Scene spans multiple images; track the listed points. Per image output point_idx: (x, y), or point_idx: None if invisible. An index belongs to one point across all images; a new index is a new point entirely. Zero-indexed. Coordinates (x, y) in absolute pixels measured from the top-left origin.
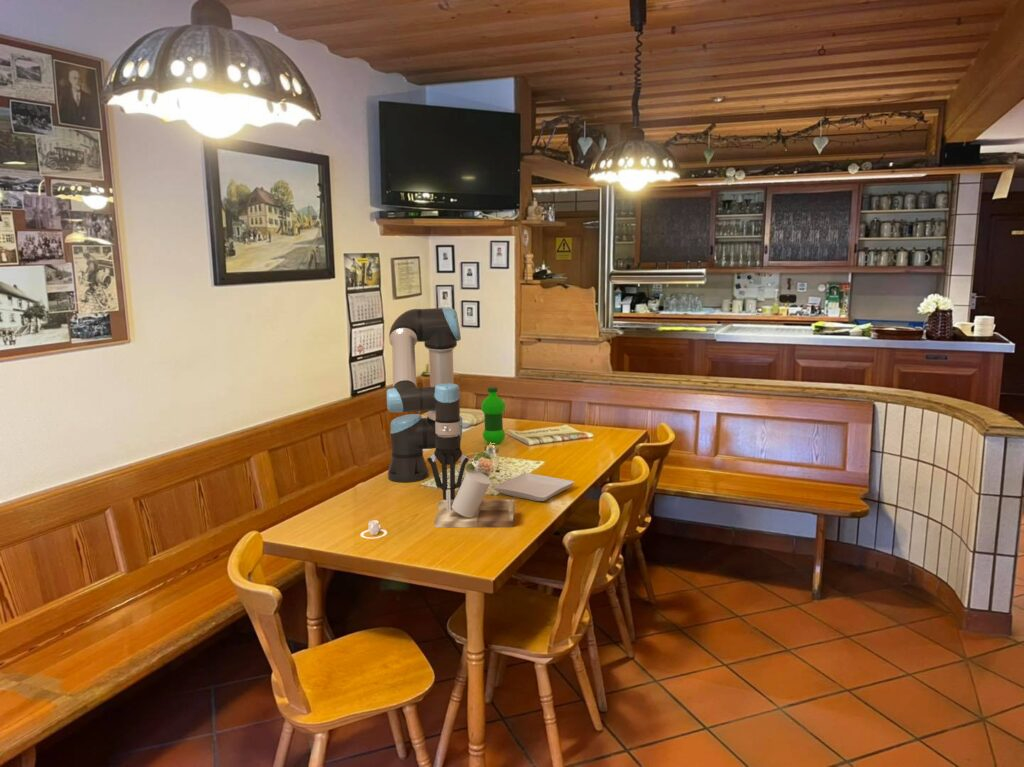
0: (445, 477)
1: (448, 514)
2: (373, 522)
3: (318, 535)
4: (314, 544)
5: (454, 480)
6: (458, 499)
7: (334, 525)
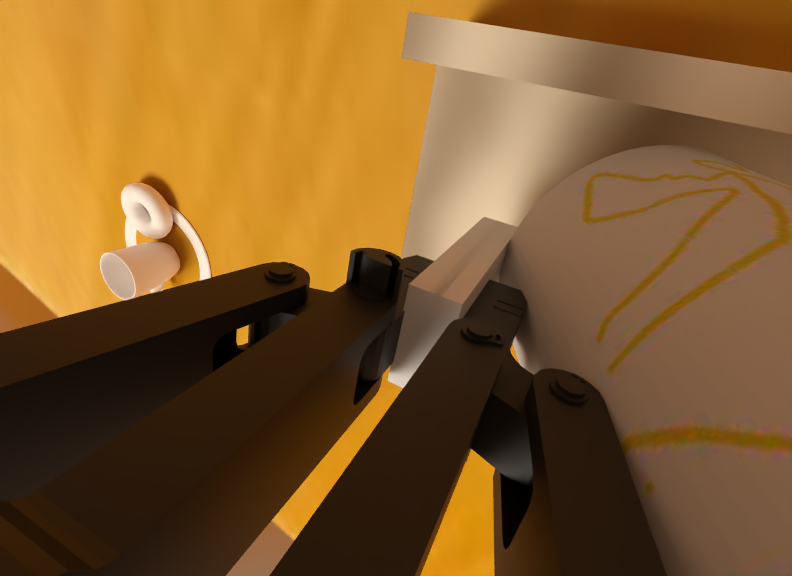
0: (276, 497)
1: (505, 191)
2: (119, 252)
3: (21, 205)
4: (48, 286)
5: (460, 469)
6: None
7: (13, 100)
